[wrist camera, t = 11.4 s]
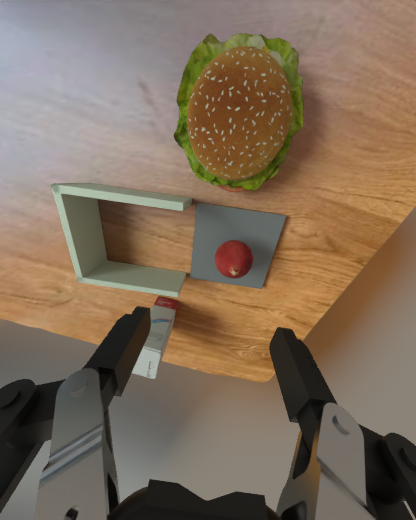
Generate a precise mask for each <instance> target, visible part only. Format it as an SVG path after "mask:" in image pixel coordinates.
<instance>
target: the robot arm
mask: <svg viewBox="0 0 416 520" xmlns="http://www.w3.org/2000/svg"><path fill="white" fill-rule="evenodd" d="M150 328H151V315H150V308H146V307H139V306H137V307H136V308H135V309H134V311H133V313H132V314H131V315H130V314H125V315H124V316H123V317H121V318H120V319H119V320H118V321H117V322H116V323H115V325H114V326H113V328H112V330H110V332H109V333H108V335H107V337H105V339H104V340H103V342H102V343H101V344H100V346H99V347H98V349H97V350H96V351H95V353H94V354H93V356H92V357H91V358H90V360H89V361H88V362H87V364H86V365H85V366H84V367H83V368H82V369H81V370H79V371H76V372H75V373H73V374H72V375H70V376H69V377H68V378H67V379H64V380H61V381H56V382H51V383H46V384H42V385H35V384H34V382H33V381H31V380H29V379H22V380H17V381H15V382H12V383H10V384H8V385H6V386H4V387H2V388H1V389H0V513H1V512H2V510H3V508H4V507H5V505H6V503H7V502H8V500H9V499H10V497H11V495H12V493H13V492H14V490H15V489H16V487H17V486H18V484H19V482H20V481H21V479H22V478H23V476H24V474H25V472H26V470H27V469H28V468H29V466H30V465H31V463H32V461H33V460H34V458H35V457H36V455H37V453H38V452H39V450H40V448H41V446H42V445H43V443H44V442H45V441H47V440H51V448H50V456H49V461H48V464H47V465H46V466H45V468H44V469H43V471H42V474H41V478H40V481H39V487H38V494H37V501H36V509H35V517H34V520H413V518H412V517H411V515H410V513H409V511H408V509H407V507H406V505H405V504H404V502H403V501H406V502H407V503H408V505H409V507H410V509H411V511H412V513H413V514H414V516H415V518H416V446H415V445H414V444H413V443H411V442H410V441H409V440H407V439H406V438H405V437H403V436H401V435H399V434H396V433H389V434H387V435H386V436H384V437H383V436H381V435H379V434H377V433H375V432H373V431H371V430H369V429H367V428H365V427H363V426H361V425H359V424H358V423H357V422H356V421H355V419H354V418H353V417H352V416H351V414H350V413H349V412H347V411H346V410H345V409H344V408H342V407H341V406H339V405H338V404H337V402H336V401H335V399H334V397H333V395H332V393H331V391H330V389H329V387H328V385H327V384H326V382H325V380H324V378H323V376H322V374H321V372H320V370H319V368H317V364H316V363H315V361H314V360H313V357H312V355H311V353H310V351H309V349H308V348H307V346H306V345H305V344H304V343H303V342H302V341H301V340H299V339H297V338H296V336H295V334H294V332H293V330H292V329H287V328H281V327H278V328H277V329H276V331H275V334H274V336H273V338H272V340H271V342H270V355H271V358H272V362H273V365H274V369H275V372H276V375H277V379H278V382H279V385H280V389H281V393H282V396H283V400H284V403H285V407H286V410H287V413H288V417H289V420H290V422H295V423H299V426H300V429H301V430H300V432H299V435H298V439H297V444H296V448H295V452H294V456H293V460H292V464H291V468H290V473H289V477H288V480H287V482H286V485H285V487H284V488H283V490H282V493H281V496H280V498H279V502H278V506H277V510H276V513H275V512H274V511H273V510H272V509H271V508H269V507H268V506H267V505H266V503H265V497H264V495H258V494H250V493H243V492H233V493H230V494H227V495H224V496H221V497H218V498H215V499H212V500H209V501H206V500H203V499H202V498H200V497H198V496H197V495H196V494H194V493H192V492H191V491H189V490H188V489H186V488H185V487H183V486H181V485H180V484H178V483H172V482H165V481H159V480H151V479H150V480H149V484H148V487H145V488H142V489H140V490H138V491H136V492H134V493H133V494H131V495H130V496H128V497H127V498H126V499H125V500H123V501H122V502H121V503H120V497H119V488H118V479H117V472H116V465H115V460H114V453H113V445H112V435H111V426H110V416H109V408H108V407H109V404H110V402H111V400H112V398H113V396H120V397H121V395H122V393H123V391H124V388H125V386H126V384H127V382H128V380H129V377H130V375H131V373H132V371H133V368H134V366H135V364H136V362H137V360H138V357H139V355H140V353H141V351H142V349H143V346H144V344H145V342H146V340H147V337H148V335H149V332H150Z"/></svg>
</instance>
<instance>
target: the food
mask: <svg viewBox="0 0 416 520" xmlns="http://www.w3.org/2000/svg"><path fill="white" fill-rule="evenodd" d="M298 62H299V59H298V53H297V51H296V50H295V49H294V48H292V47H291V46H290V43H289V42H287V41H285V40H282V39H280V38H276V39H272V40H271V39H267V38H266V37H264V36H263V35H256V34H255V35H250V34H246V33H244V34H243V33H240V34H236V35H233V36H232V37H231V38H230V39H229V40H228V41H226V42H224V43H222V42H219V41H218V40H217V39H216V38H215V37H214V36H213V35H212V34H209V35H208V36H206V38H205V39H204V41H203V42H200V44H199V45H198V46H197V47H196V49H195V50H194V51H193V52H192V54H191V57H190V59H189V62H188V64H187V66H186V68H185V70H184V72H183V77H182V81H181V84H180V88H179V91H178V96H177V103H178V106H179V110H180V112H179V120H178V122H177V123H178V127H177V130H176V131H175V133H174V138H175V140H176V142H177V143H178V144H179V146H180V147H182V148H183V149H184V150H185V152H186V155H187V157H188V160H189V162H190V165H191V168H192V170H193V172H195V173H196V176H197V177H198V178H199V179H201V180H204V181H206V182H209V183H211V184H213V185H217V186H219V187H220V188H222V189H225V190H227V191H231V192H240V191H243V190H245V189H246V190H249V189H250V190H253V191H255V190H256V189H258V188H259V187H260V186H261V184H262V183H263V182H264V181H266V180H268V179H270V178H272V177H274V176H275V175H276V174H277V173H278V171H279V166H277V165H279V164H281V163H283V162H284V160H285V158H286V154H287V151H288V150H289V149H290V142H291V140H292V136H293V135H294V134H296V133H297V132H298V131H299V130H300V128H301V127H303V98H302V83H303V80H302V77H301V76H300V75H299V74H298V73H297V68H298Z"/></svg>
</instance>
